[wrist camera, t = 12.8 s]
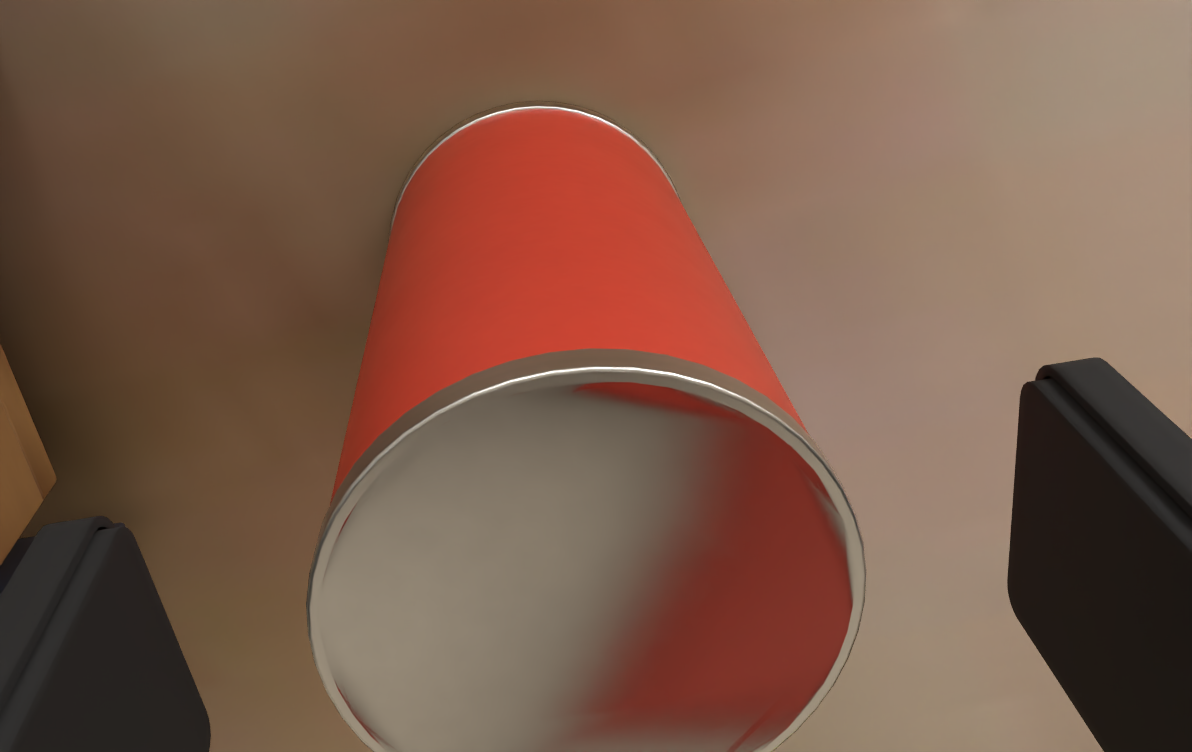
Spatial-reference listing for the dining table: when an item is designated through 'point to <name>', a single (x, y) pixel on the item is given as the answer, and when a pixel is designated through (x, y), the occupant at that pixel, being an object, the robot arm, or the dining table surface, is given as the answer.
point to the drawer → (19, 473)
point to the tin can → (572, 473)
